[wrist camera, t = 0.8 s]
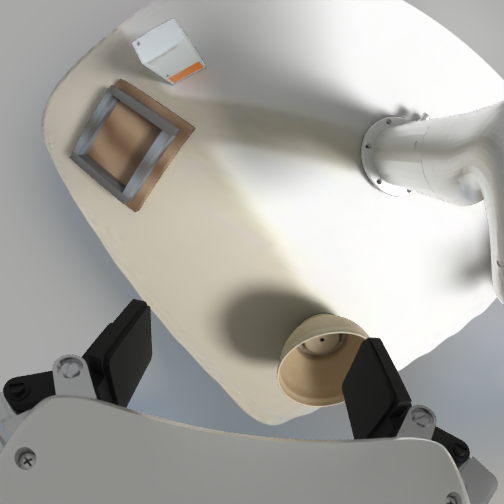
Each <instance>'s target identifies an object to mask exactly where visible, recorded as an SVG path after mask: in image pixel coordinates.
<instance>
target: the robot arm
mask: <svg viewBox="0 0 504 504" xmlns="http://www.w3.org/2000/svg"><path fill="white" fill-rule="evenodd" d="M386 121H387V122H388V124H387V122H386ZM366 145H367V146H368V148H366ZM361 159H362V163H363V167H364V170H365V172H366V174H367V176H368V178H369V179H370V181H371V182H372V183H373V184H374V185H375V186H376V187H377V188H378V189H379V190H381V191H383V192H385V193H386V194H389V195H392V196H398V197H402V196H409V195H411V194H413V193H415V192H417V193H421V194H424V195H427V196H430V197H433V198H437V199H440V200H443V201H446V202H449V203H452V204H455V205H459V206H469V205H473V204H476V203H478V202H480V201H482V200H483V199H484V202H485V207H486V214H487V220H488V224H489V234H490V246H491V267H492V281H493V287H494V290H495V293H496V295H497V298H498V299H499V300H500V302H501V303H502V304H503V305H504V101H501V102H498V103H496V104H493V105H491V106H488V107H485V108H483V109H480V110H476V111H473V112H469V113H465V114H460V115H454V116H448V117H442V118H437V119H430V117H429V115H427V114H426V113H423V114H422V116H421V117H420V118H419V120H418V121H409V120H407V119H404V118H402V117H386V118H383V119H381V120H378V121H377V122H375V123H374V124H373V125H372V126H371V127H370V128H369V129H368V130H367V132H366V134H365V136H364V139H363V142H362V148H361ZM377 180H378V183H377ZM151 357H152V342H151V314H150V306H147V303H146V302H145V301H141V300H136V299H133V300H132V301H131V302H130V303H129V304H128V306H127V307H126V308H125V309H124V310H123V312H122V313H121V314H120V315H119V316H118V317H117V318H116V320H115V321H114V322H113V323H110V324H109V325H108V326H107V327H106V328H105V329H104V331H103V332H102V333H101V334H100V335H99V336H98V338H97V339H96V340H95V341H94V342H93V344H92V345H91V346H90V347H89V349H88V350H87V351H86V353H85V354H84V355H83V356H82V357H80V356H77V355H65V356H62V357H60V358H58V359H57V360H56V361H55V362H54V364H53V371H48V372H43V373H37V374H33V375H26V376H20V377H15V378H12V379H10V380H9V381H8V382H7V383H6V384H5V386H4V388H3V392H1V393H0V504H488V503H489V501H490V499H491V498H492V496H493V494H494V493H495V491H496V489H497V484H498V483H497V479H496V477H495V476H494V475H493V474H492V473H491V472H490V471H489V470H487V469H486V468H485V467H484V466H483V465H482V464H481V463H480V462H479V461H478V460H476V459H475V458H474V457H472V458H469V455H470V451H469V448H468V446H467V444H466V443H465V442H463V441H462V440H460V439H458V438H456V437H454V436H453V435H451V434H449V433H447V432H445V431H443V430H442V429H440V428H438V427H436V416H435V414H434V413H433V412H432V411H431V409H429V408H428V407H425V406H423V405H415V406H412V405H411V403H410V402H411V399H410V396H409V394H408V392H407V390H406V388H405V386H404V384H403V382H402V380H401V378H400V376H399V374H398V372H397V370H396V368H395V366H394V364H393V362H392V360H391V358H390V356H389V354H388V352H387V350H386V349H385V347H384V345H383V343H382V341H381V339H379V338H369V337H368V338H367V339H366V340H364V341H362V343H361V345H360V347H359V350H358V352H357V354H356V356H355V358H354V360H353V363H352V365H351V367H350V369H349V371H348V373H347V375H346V377H345V379H344V381H343V383H342V392H343V395H344V399H345V403H346V407H347V411H348V415H349V419H350V423H351V427H352V431H353V436H354V440H300V439H283V438H270V437H260V436H251V435H243V434H236V433H230V432H223V431H218V430H212V429H206V428H201V427H196V426H192V425H187V424H183V423H179V422H175V421H170V420H167V419H163V418H159V417H156V416H152V415H148V414H145V413H141V412H138V411H135V410H131V409H128V408H126V407H127V405H128V403H129V401H130V399H131V397H132V395H133V393H134V391H135V389H136V387H137V385H138V384H139V382H140V380H141V378H142V376H143V374H144V372H145V370H146V368H147V366H148V364H149V363H150V361H151Z"/></svg>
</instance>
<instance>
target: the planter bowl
mask: <svg viewBox="0 0 504 504" xmlns="http://www.w3.org/2000/svg"><path fill="white" fill-rule="evenodd" d="M368 337H369V336H368V335H367V333H366V332H365V331H364V330H363V329H362V328H361V327H360V326H358V325H357V324H356V323H354V322H352V321H351V320H348V319H346V318H343V317H340V316H335V315H332V314H317V315H314V316H311V317H309V318H307V319H306V320H305V321H304V322H302V323H301V325H300V326H298V327H297V328H296V329H295V330H294V331H293V332H292V334H291V335H290V336H289V338H288V339H287V341H286V343H285V344H284V347H283V349H282V352H281V355H280V360H279V365H278V370H277V381H278V385H279V387H280V389H281V390H282V392H283V393H284V394H285V395H286V396H287V397H288V398H290V399H291V400H293V401H294V402H296V403H299V404H302V405H306V406H313V407H325V406H332V405H337V404H340V403H343V402H345V399H344V395H343V392H342V383H343V381H344V379H345V377H346V375H347V373H348V371H349V369H350V367H351V365H352V363H353V360H354V358H355V356H356V354H357V352H358V350H359V347H360V345H361V343H362V341H364V340H366V339H367V338H368ZM321 338H323V339H324V341H320V339H321Z"/></svg>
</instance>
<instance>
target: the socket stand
mask: <svg viewBox="0 0 504 504" xmlns="http://www.w3.org/2000/svg"><path fill="white" fill-rule="evenodd" d="M194 129H195V128H194V127H193V126H192V125H190V124H189V123H187V122H186V121H185V120H183V119H182V118H180V117H179V116H177V115H176V114H175V113H173V112H172V111H170V110H169V109H167V108H166V107H164V106H163V105H161V104H160V103H158V102H157V101H155V100H154V99H152V98H151V97H149V96H148V95H146V94H145V93H143V92H142V91H140V90H139V89H137V88H136V87H134V86H133V85H131V84H129V83H128V82H126V81H125V80H122V79H120V80H119V81H118V83H117V84H116V86H113V85H111V86H110V88H109V89H108V91H107V92H106V94H105V96H104V97H103V99H102V100H101V102H100V103H99V105H98V107H97V108H96V110H95V112H94V113H93V115H92V117H91V118H90V120H89V122H88V124H87V125H86V127H85V129H84V131H83V133H82V135H81V136H80V138H79V140H78V142H77V144H76V146H75V148H74V150H73V152H72V154H71V156H70V158H71V159H72V160H73V161H74V162H75V163H76V164H78V165H79V166H80V167H81V168H82V169H83V170H84V171H85V172H87V173H88V174H89V175H90V176H91V177H92V178H94V179H95V180H96V181H97V182H98V183H99V184H101V185H102V186H103V187H104V188H105V189H106V190H108V191H109V192H110V193H111V194H112V195H113V196H115V197H116V198H117V199H118V200H119V201H121V202H122V203H123V204H126V205H127V206H128V207H129V208H130V209H132V210H133V211H134V212H137V211H139V210H140V208H141V206H142V205H143V203H144V202H145V200H146V198H147V197H148V195H149V194H150V192H151V191H152V189H153V187H154V186H155V184H156V183H157V181H158V180H159V178H160V177H161V175H162V174H163V172H164V171H165V169H166V168H167V167H168V165H169V164H170V162H171V161H172V159H173V158H174V156H175V155H176V154H177V152H178V151H179V150H180V148H181V147H182V145H183V144H184V143H185V141H186V140H187V139H188V137H189V136H190V135H191V133H192V132H193V131H194Z"/></svg>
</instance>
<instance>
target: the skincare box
mask: <svg viewBox="0 0 504 504" xmlns="http://www.w3.org/2000/svg"><path fill="white" fill-rule="evenodd" d="M131 44H132V46H133V48H134V50H135V52H136V53H137V55H138V57H139V59H140V61H141V63H142V64H143V65H144V66H145V67H147V68H149V69H150V70H151V71H153V72H154V73H156V74H157V75H159V76H160V77H162V78H163V79H164V80H166V81H167V82H169V83H170V84H171V85H175V84H176V83H178V82H180V81H181V80H183V79H185V78H187V77H188V76H190V75H192V74H194V73H196V72H198V71H200V70H202V69H204V68H206V66H205V64H204V62H203V60H202V58H201V57H200V55H199V53H198V51H197V50H196V48H195V47H194V45H193V44H192V42H191V41H190V40H189V38H188V37H187V35H186V34H185V33H184V31H183V30H182V29H181V27H180V26H179V24H178V23H177V21H176V20H175V19H174V18H172V19H170V20H168V21H166V22H165V23H163V24H161V25H159V26H157V27H155V28H153V29H151V30H150V31H148V32H147V33H146V34H144V35H143V36H141V37H140V38H138V39H136V40H135V41H133V42H132V43H131Z"/></svg>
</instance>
